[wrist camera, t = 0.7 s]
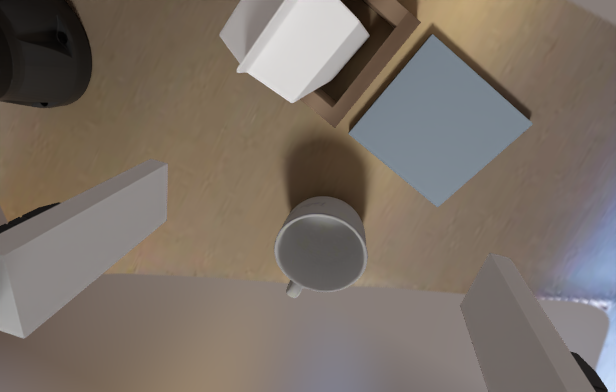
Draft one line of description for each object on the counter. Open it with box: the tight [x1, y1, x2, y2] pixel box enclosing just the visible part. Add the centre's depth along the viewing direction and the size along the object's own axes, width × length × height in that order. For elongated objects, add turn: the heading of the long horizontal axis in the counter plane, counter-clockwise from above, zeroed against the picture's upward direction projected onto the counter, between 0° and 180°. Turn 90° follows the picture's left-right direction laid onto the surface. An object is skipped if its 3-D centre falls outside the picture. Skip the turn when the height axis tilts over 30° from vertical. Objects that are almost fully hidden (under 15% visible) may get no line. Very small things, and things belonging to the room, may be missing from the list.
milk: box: [220, 0, 370, 103], centre depth 26 cm, size 6×6×22 cm
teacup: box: [274, 196, 368, 298], centre depth 42 cm, size 14×11×8 cm
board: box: [348, 34, 533, 207], centre depth 37 cm, size 14×13×1 cm
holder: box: [300, 0, 421, 128], centre depth 34 cm, size 12×12×4 cm
